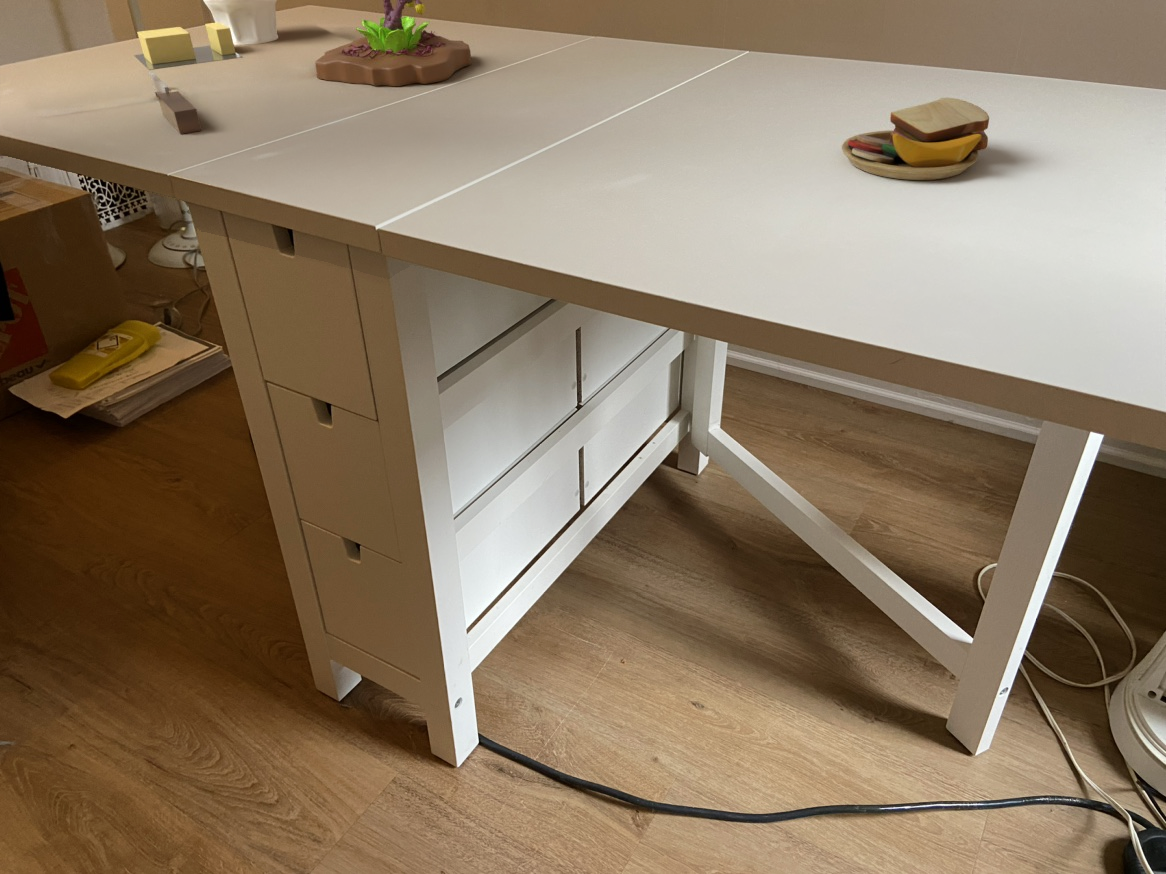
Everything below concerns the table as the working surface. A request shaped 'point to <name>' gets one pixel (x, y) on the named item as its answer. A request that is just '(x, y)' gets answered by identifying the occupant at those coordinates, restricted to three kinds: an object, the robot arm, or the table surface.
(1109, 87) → the table surface
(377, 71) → the plant
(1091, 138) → the table surface
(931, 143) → the toy sandwich meal
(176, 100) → the knife
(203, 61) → the butter dish
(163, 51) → the butter
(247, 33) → the cup
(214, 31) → the butter slice
